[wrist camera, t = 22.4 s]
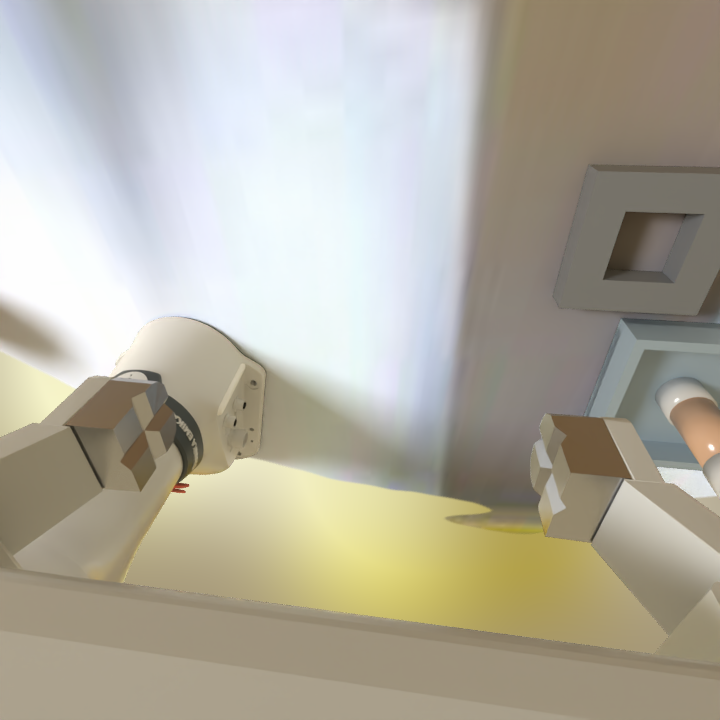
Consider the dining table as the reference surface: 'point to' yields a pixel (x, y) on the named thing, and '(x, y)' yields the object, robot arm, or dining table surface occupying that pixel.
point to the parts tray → (656, 380)
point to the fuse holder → (601, 227)
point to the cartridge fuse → (694, 422)
